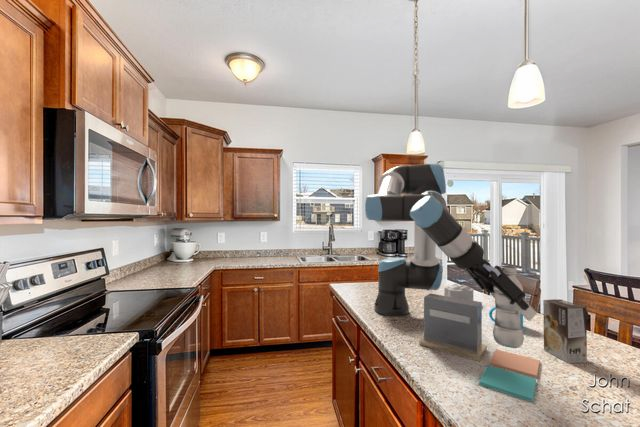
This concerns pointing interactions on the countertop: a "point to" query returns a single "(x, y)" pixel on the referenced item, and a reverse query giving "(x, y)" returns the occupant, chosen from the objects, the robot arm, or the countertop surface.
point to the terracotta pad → (515, 363)
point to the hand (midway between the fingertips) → (521, 312)
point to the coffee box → (565, 330)
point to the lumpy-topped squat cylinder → (459, 291)
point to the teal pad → (509, 382)
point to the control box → (453, 326)
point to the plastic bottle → (507, 315)
